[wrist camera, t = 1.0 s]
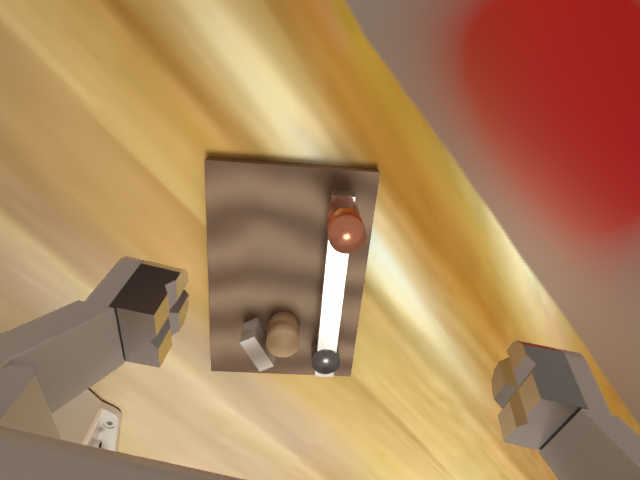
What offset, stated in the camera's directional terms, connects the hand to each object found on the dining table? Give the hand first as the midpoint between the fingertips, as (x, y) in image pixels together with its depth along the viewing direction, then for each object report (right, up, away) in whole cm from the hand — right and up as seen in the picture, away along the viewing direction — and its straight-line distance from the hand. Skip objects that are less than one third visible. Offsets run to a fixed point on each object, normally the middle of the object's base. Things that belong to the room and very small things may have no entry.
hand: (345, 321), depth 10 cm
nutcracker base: (-5, -3, +42) cm, 43 cm away
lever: (+1, -4, +41) cm, 41 cm away
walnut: (-5, -9, +44) cm, 45 cm away
